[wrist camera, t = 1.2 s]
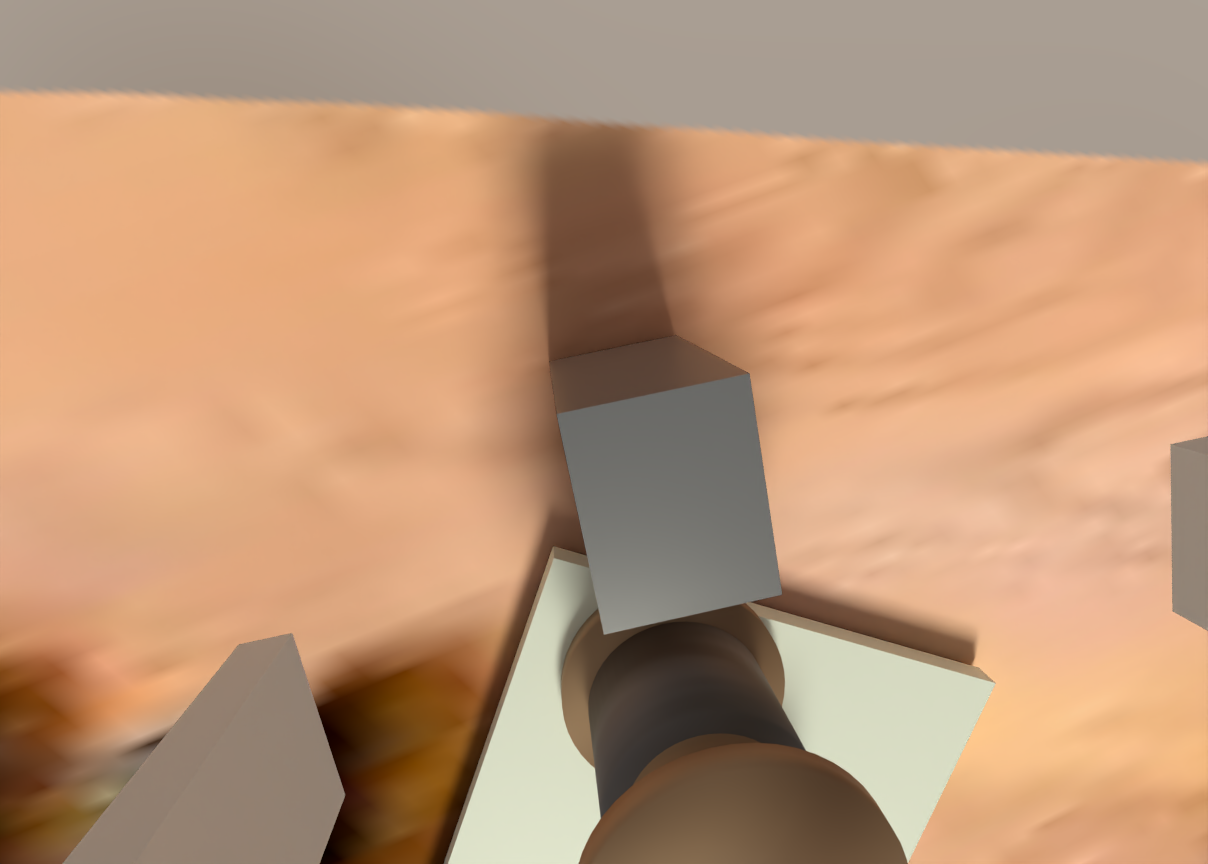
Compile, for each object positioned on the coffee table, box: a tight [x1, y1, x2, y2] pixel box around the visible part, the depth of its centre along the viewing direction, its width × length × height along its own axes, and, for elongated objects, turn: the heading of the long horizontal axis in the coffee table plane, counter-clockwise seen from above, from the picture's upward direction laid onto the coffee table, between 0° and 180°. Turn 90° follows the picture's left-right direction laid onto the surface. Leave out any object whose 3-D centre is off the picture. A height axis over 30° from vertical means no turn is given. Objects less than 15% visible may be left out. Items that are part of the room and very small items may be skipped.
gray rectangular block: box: [549, 335, 782, 635], centre depth 19 cm, size 4×5×8 cm
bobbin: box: [561, 603, 908, 864], centre depth 20 cm, size 7×7×9 cm
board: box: [444, 546, 996, 864], centre depth 26 cm, size 16×18×1 cm
